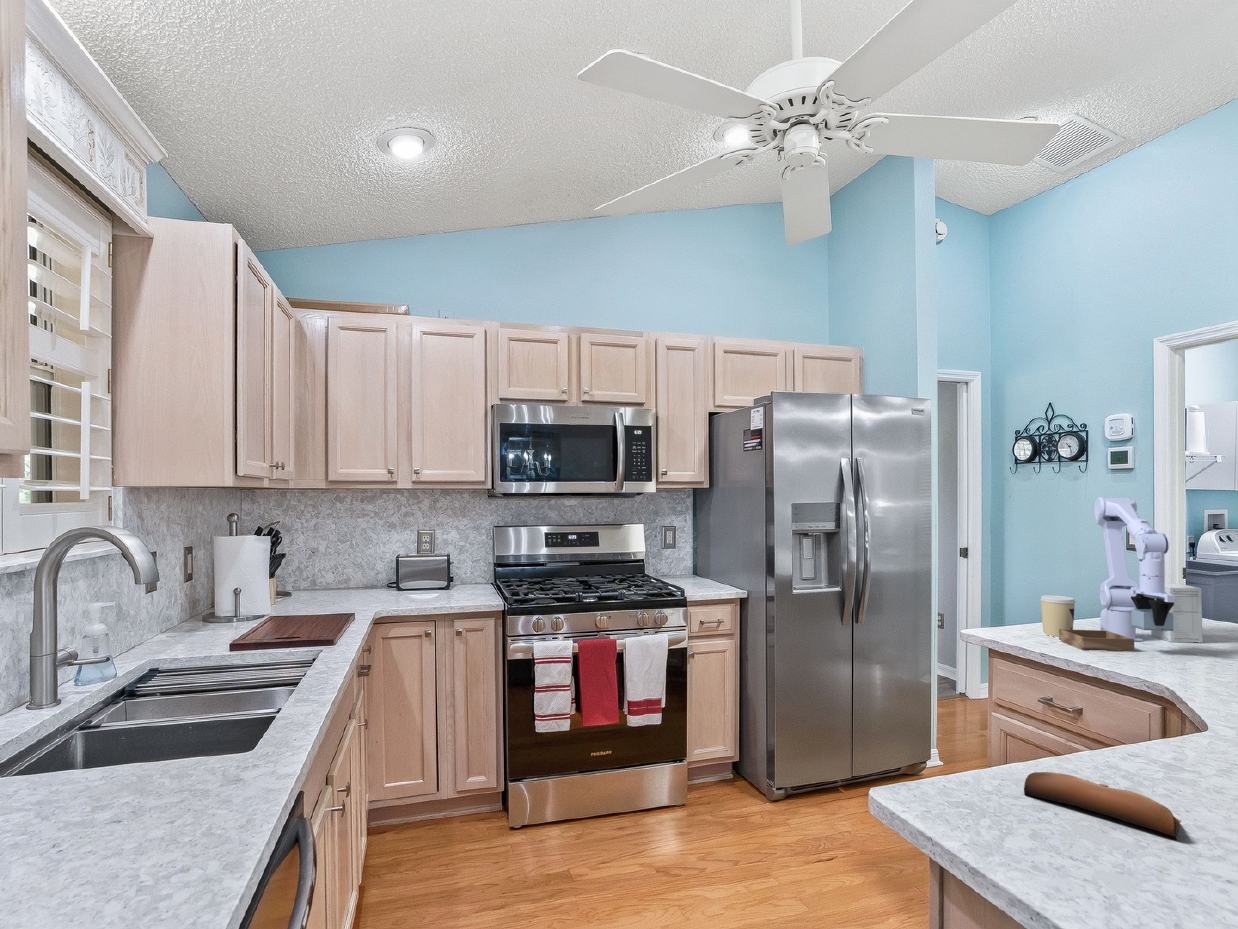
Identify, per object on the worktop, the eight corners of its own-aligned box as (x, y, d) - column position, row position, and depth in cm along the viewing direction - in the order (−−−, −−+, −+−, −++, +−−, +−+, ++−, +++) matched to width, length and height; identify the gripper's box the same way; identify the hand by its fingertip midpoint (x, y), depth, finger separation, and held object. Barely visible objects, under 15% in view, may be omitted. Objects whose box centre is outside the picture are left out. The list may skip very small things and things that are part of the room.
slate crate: (1131, 626, 197) (1131, 609, 197) (1160, 627, 196) (1160, 609, 197) (1143, 630, 192) (1143, 612, 192) (1173, 631, 191) (1173, 613, 192)
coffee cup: (1079, 640, 210) (1079, 600, 210) (1044, 637, 213) (1044, 598, 213) (1070, 633, 219) (1070, 596, 219) (1036, 631, 222) (1036, 594, 222)
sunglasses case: (1185, 819, 95) (1181, 785, 93) (1179, 862, 91) (1175, 827, 89) (1038, 779, 108) (1032, 748, 106) (1027, 814, 104) (1020, 783, 102)
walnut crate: (1059, 640, 208) (1059, 629, 208) (1107, 642, 207) (1107, 630, 207) (1083, 650, 196) (1083, 638, 196) (1134, 651, 195) (1134, 639, 195)
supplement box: (1182, 636, 217) (1181, 583, 217) (1203, 643, 208) (1203, 587, 208) (1149, 635, 218) (1149, 582, 218) (1170, 642, 209) (1169, 586, 209)
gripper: (1119, 572, 202) (1120, 618, 202) (1155, 578, 188) (1156, 628, 187) (1144, 572, 202) (1144, 618, 201) (1182, 579, 187) (1182, 629, 187)
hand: (1152, 623), depth 194 cm, fingers closed on slate crate, 5 cm apart
